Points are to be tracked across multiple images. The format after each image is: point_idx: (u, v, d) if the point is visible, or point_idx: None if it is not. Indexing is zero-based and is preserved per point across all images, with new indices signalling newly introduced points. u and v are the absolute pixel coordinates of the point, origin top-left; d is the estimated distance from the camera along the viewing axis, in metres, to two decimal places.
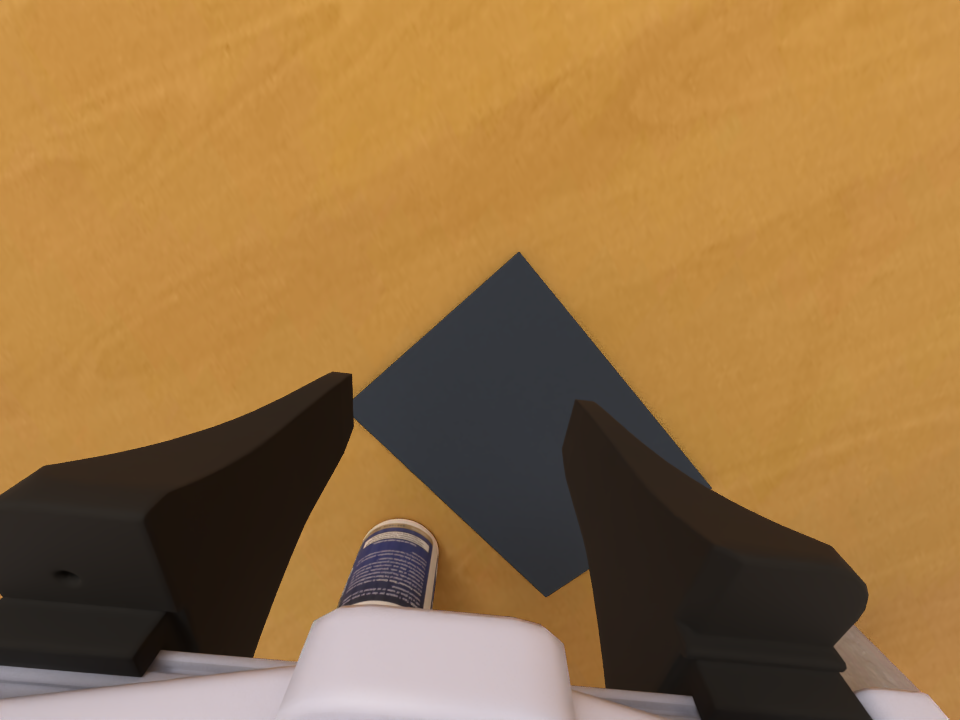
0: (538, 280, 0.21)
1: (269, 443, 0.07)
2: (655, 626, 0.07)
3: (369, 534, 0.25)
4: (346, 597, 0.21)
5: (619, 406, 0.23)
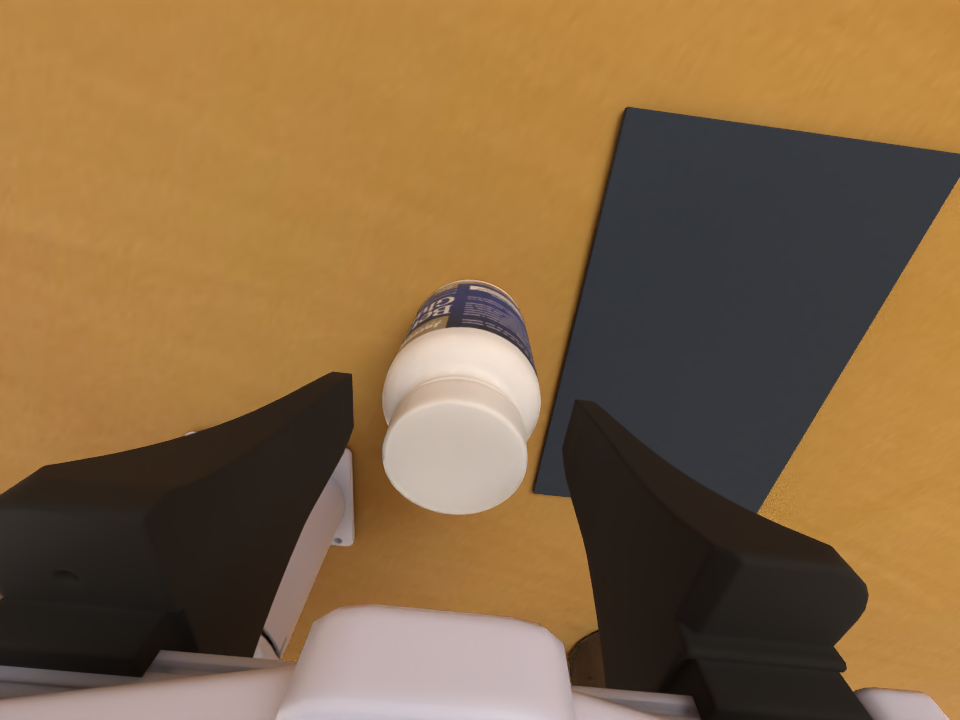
0: (938, 205, 0.16)
1: (269, 443, 0.08)
2: (655, 626, 0.07)
3: (474, 282, 0.17)
4: (468, 318, 0.13)
5: (805, 392, 0.20)
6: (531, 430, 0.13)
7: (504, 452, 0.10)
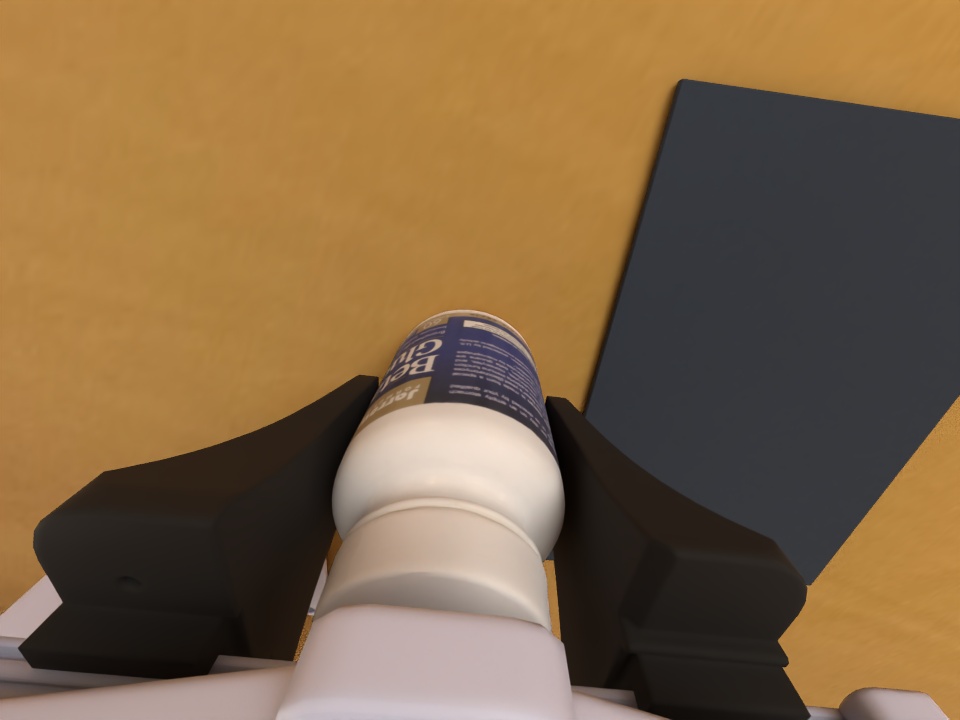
0: None
1: (311, 448, 0.08)
2: (603, 621, 0.07)
3: (470, 314, 0.13)
4: (459, 384, 0.09)
5: (888, 447, 0.16)
6: (551, 549, 0.09)
7: None
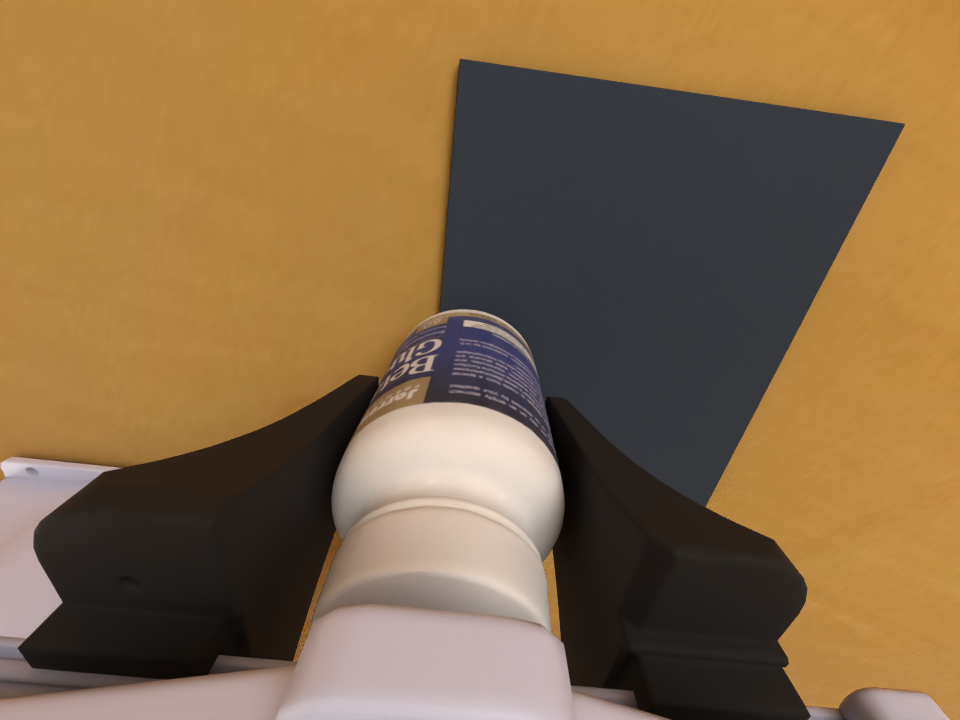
0: (866, 188, 0.13)
1: (311, 447, 0.08)
2: (603, 621, 0.07)
3: (469, 314, 0.13)
4: (458, 383, 0.09)
5: (725, 415, 0.17)
6: (551, 548, 0.09)
7: None
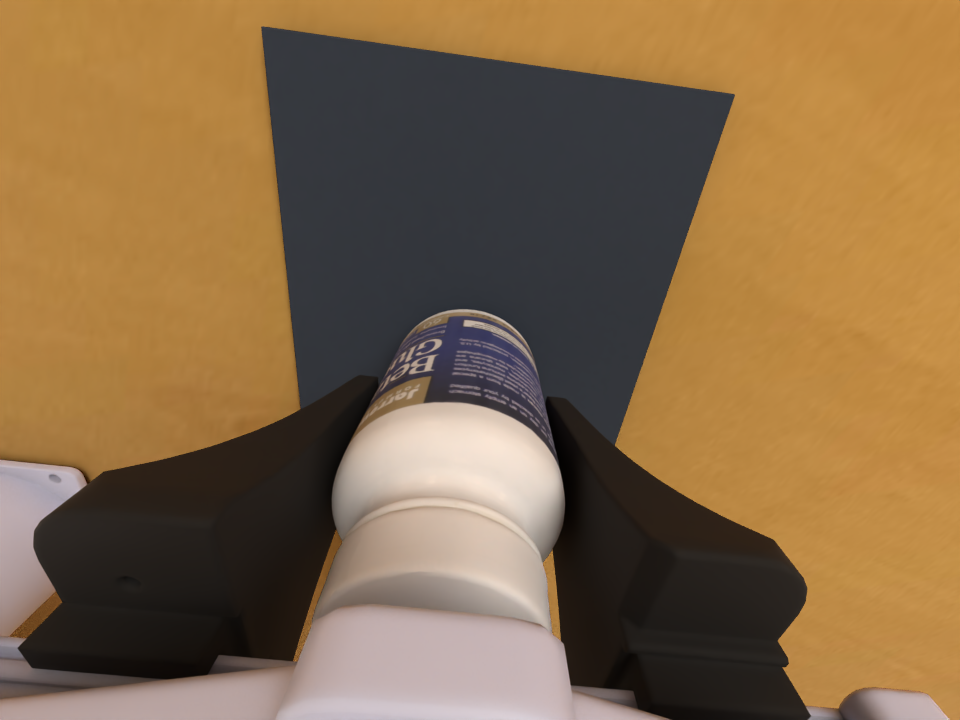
0: (706, 164, 0.12)
1: (311, 447, 0.08)
2: (603, 621, 0.07)
3: (469, 314, 0.13)
4: (459, 383, 0.09)
5: (599, 404, 0.16)
6: (551, 548, 0.09)
7: None
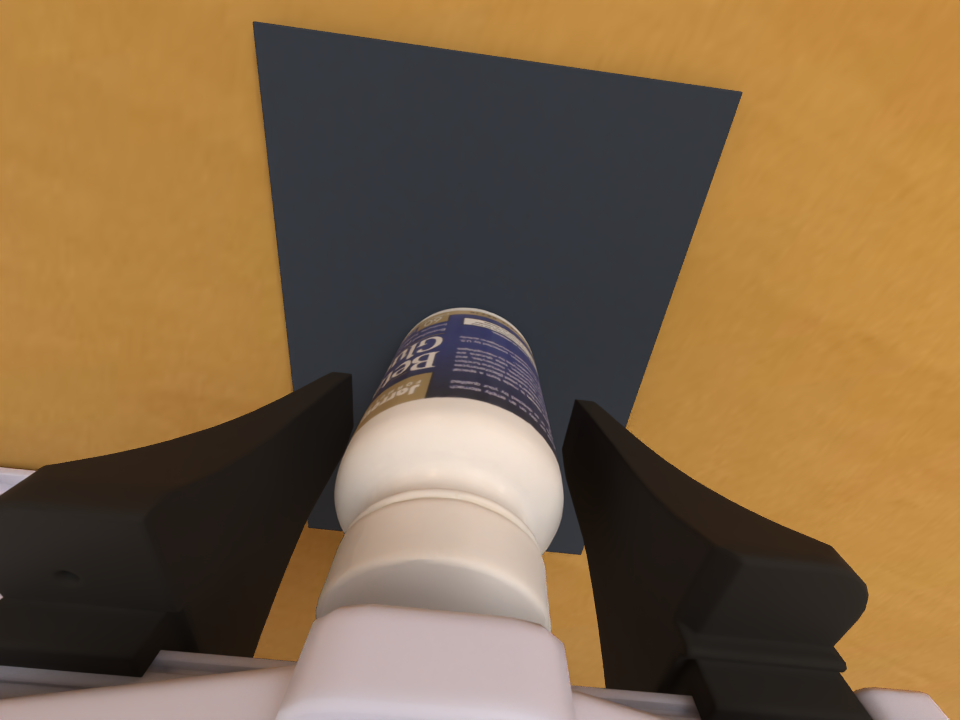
0: (712, 163, 0.12)
1: (269, 443, 0.08)
2: (655, 626, 0.07)
3: (470, 312, 0.13)
4: (460, 379, 0.09)
5: None
6: (550, 541, 0.09)
7: None
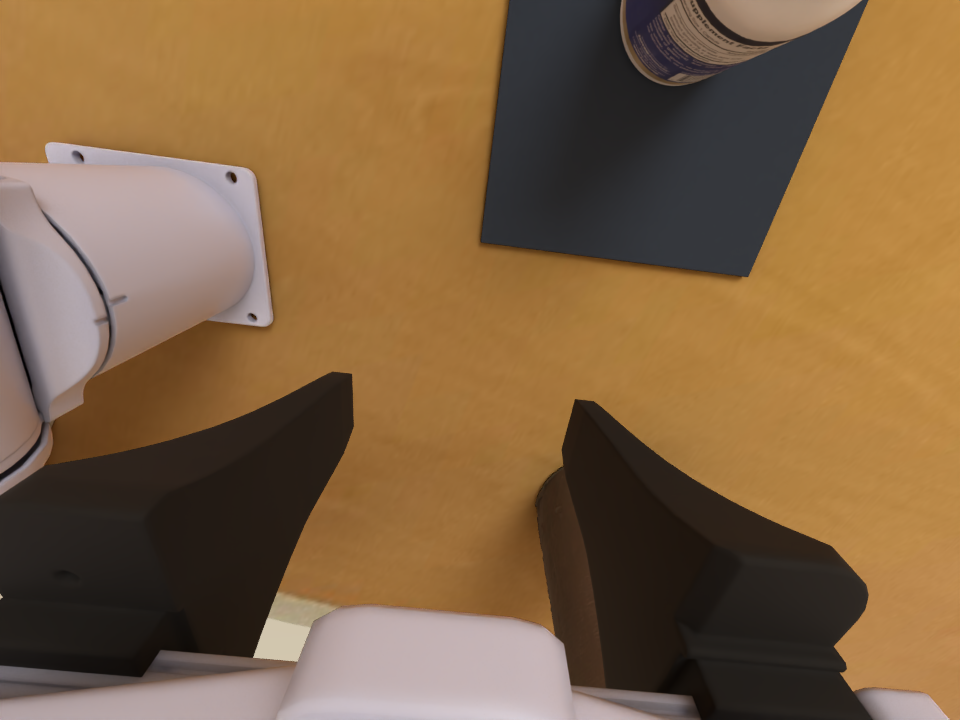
0: None
1: (269, 443, 0.08)
2: (655, 626, 0.07)
3: None
4: None
5: (811, 63, 0.16)
6: None
7: None
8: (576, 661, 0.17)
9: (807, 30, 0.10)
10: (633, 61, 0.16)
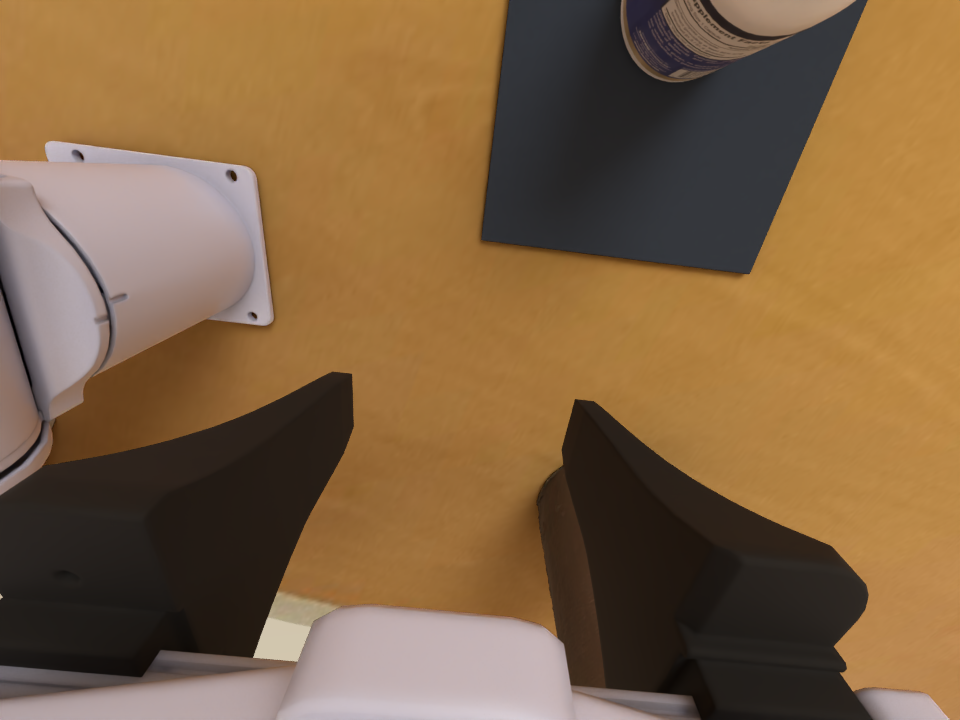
0: None
1: (269, 443, 0.08)
2: (655, 626, 0.07)
3: None
4: None
5: (812, 59, 0.16)
6: None
7: None
8: (578, 659, 0.17)
9: (809, 24, 0.10)
10: (634, 57, 0.15)
